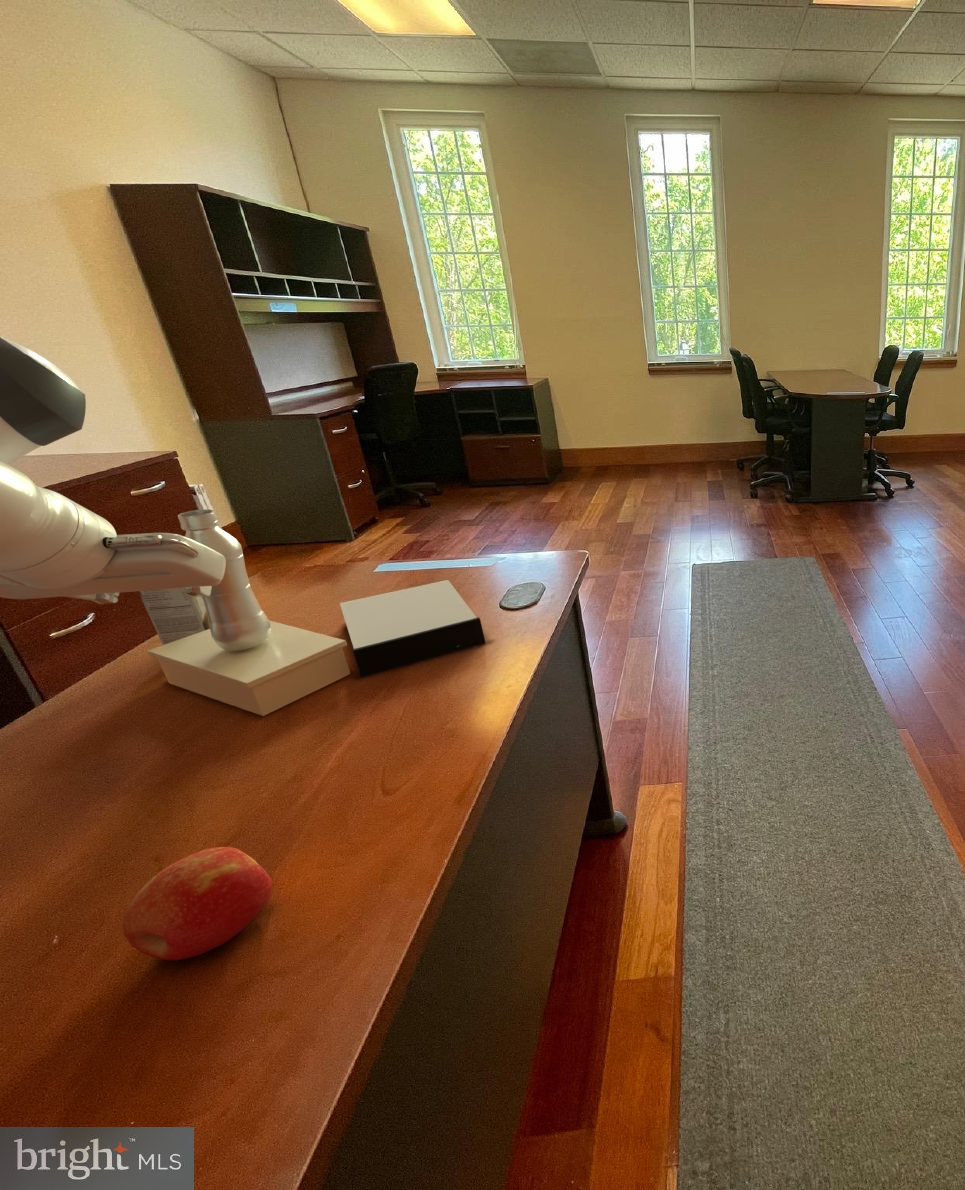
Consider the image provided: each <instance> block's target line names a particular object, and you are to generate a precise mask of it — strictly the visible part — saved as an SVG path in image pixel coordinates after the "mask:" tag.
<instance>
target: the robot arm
mask: <svg viewBox="0 0 965 1190" xmlns="http://www.w3.org/2000/svg"><path fill="white" fill-rule="evenodd" d="M86 401H87V400H86V394H85V393H84V392H83V391H82V390H81V389H80V387H79V385H77V383H76V382H75V381H74V380H73V378H71V377H70V376H69V375H68V374H67V373H66V372H65V371H63V370H62V369H61V368H60V367H58V365H55V364H54V363H53V362H51V361H50V360H48V359H47V358H45V357H44V356H43V355H40V354H39V353H36V352H35V351H34V350H31V349H29V348H27V347H26V346H23V345H21V344H19V343H17V342H15V341H14V340H13V341H12V339H11V340H10V339H8V338H6V337H3V336H1V335H0V598H3V599H12V600H34V599H47V598H49V599H50V598H62V597H64V598H69V599H70V598H71V599H77V600H78V599H79V600H85V601H91V602H94V603H96V604H98V605H107V604H116V603H118V601H119V598H118V597H119V596H120V593H131V592H138V591H148V590H162V589H176V588H186V593H187V594H189V595H192V596H193V597H202V596H204V597H205V596H210V594H211V589H212V586H216V585H218V584H220V582H221V581H222V579H223V576H224V572H225V567H226V559H225V557H224V556H223V555H222V554H220V553H218V552H217V551H215V550H213V549H211V548H209V547H207V546H205V545H203V544H201V543H198V542H196V541H194V540H192V539H189V538H187V537H184V536H185V535H181V534H177V533H171V532H150V533H149V532H147V533H131V534H129V533H128V534H127V533H126V534H117V532H116V529H115V528H114V526H113V524H112V523H110V522H109V521H108V520H107V519H106V518H104V517H102V516H101V515H99V514H97V513H95V512H93V511H92V510H89V509H88V508H86V507H84V506H82V505H81V504H79V503H77V502H75V501H74V500H72V499H70V498H68V497H66V496H64V495H63V494H61V493H59V492H57V491H54V490H51V489H48V488H44V487H40V486H38V485H36V483H34V481H33V480H32V479H30V477H28V476H27V475H26V474H25V473H23V472H21V471H20V470H18V469H17V468H15V467H13V466H11V465H10V464H11V463H13V462H15V461H17V460H18V459H21V458H22V457H24V456H26V455H27V454H30V453H31V452H33V451H34V450H37V449H38V448H40V447H45V446H48V445H50V444H53V443H54V442H57V441H59V440H61V439H63V438H66V437H68V436H71V435H72V434H74V433H77V432H79V431H81V430H83V426H84V423H85V418H86V409H87V402H86Z"/></svg>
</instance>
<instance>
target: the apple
mask: <svg viewBox="0 0 965 1190" xmlns="http://www.w3.org/2000/svg"><path fill="white" fill-rule="evenodd" d="M272 881H273V880H272V879H271V876H270V875H269V873H268V872H267V871H266V870H265V869H264V868H263V867H262V866H261V865H260V864H259V863H258V862H257V861H256V860H255V859H254V858H252V856H250V855H248V854H246V853H245V852H244V851H242V850H241V849H238V848H237V847H231V846H218V847H211V848H210V847H209V848H205V849H203V850H200V851H198V852H195V853H193V854H190V855H187V856H186V857H183V858H181V859H179V860H177V861H175V862H174V863H172V864H170V865H168V866H166V867H165V868H164V869H162V870H161V871H160V872H158V873H156V875H155V876H153V877H152V878H151V879H150V880H148V882H147V883H146V884H145V885H144V886H143V887H142V888H141V889H140V890H139V891H138V892H137V893H136V894H135V896H134V897H133V899H132V901H130V903H129V905H128V907H127V910H126V911H125V914H124V917H123V920H122V932H123V935H124V937H125V938H126V940H127V942H128V943H129V945H130V946H132V947H133V948H134V949H136V950H137V951H138V952H140V953H141V954H143V955H146V956H148V957H151V958H155V959H158V960H163V961H180V960H186V959H191V958H194V957H197V956H200V955H202V954H205V953H207V952H209V951H211V950H213V949H215V948H217V947H221V946H222V945H224V944H225V943H227V942H229V941H230V940H231V939H232V938H234V937H236V936H237V935H239V933H241V932H242V931H244V930H246V929H247V928H248V927H249V926H250V925H251V924H252V923H253V922H254V921H255V920H256V918H258V916H260V914H261V912H262V911H263V910H264V909H265V907H266V906H267V904H268V902H269V901H270V898H271V896H272V892H273V882H272Z"/></svg>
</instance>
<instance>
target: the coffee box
mask: <svg viewBox="0 0 965 1190" xmlns="http://www.w3.org/2000/svg"><path fill="white" fill-rule="evenodd" d="M137 593H138V595H139V597H140V600H141V602H142V603H143V605H144V608H145V609H146V612H147V615H148V616H149V618H150V620H151V623H152V625H153V628H154V630H155V631H156V633H157V635H158V638H159V640H160V642H161V645H165V644H168V643H171V642H174V641H176V640H179V639H182V638H185V637H188V636H191V635H194V634H196V633H199V632H202V631H205V630H208V629H210V623H209V622H210V621H209V618H208V614H207V610H206V607H205V603H204V600H203V598H202V597H193V596H192V595H189V594H187V593H186V588H176V589H162V590H148V591H137Z"/></svg>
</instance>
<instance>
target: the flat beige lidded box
mask: <svg viewBox="0 0 965 1190" xmlns="http://www.w3.org/2000/svg"><path fill="white" fill-rule="evenodd" d="M268 620H269V619H268ZM269 622H270V625H271V634H270V637H269V639H268V640H267V641H265V642H264V643H262V644H260V645H258V646H255V647H252V648H248V649H244V650H238V651H226V650H224V649H222V648H220V647H218V646H217V644H216V643H215V641H214V640H213V638H212V636H211V631H210V629H208V630H205V631H202V632H199V633H196V634H194V635H191V636H188V637H185V638H182V639H179V640H176V641H174V642H171V643H168V644H165V645H163V644H161V645H159V646H157V647H153V648H150V649H148V650H147V655H148V656H149V657H153V658H155V659H157V662H158V663H159V666H160V668H161V670H162V671H163V674H164V676H165V678H166V680H167V682H168V684H170V685H173V686H176V687H178V688H181V689H185V690H188V691H190V692H193V693H195V694H199V695H202V696H205V697H207V698H210V699H213V700H216V701H219V702H222V703H224V704H228V705H230V706H234V707H235V708H238V709H242V710H244V711H247V712H250V713H253V714H256V715H258V716H262V717H264V716H266V715H269V714H270V713H273V712H275V711H277V710H279V709H280V708H283V707H285V706H287V705H289V704H292V703H293V702H295V701H298V700H300V699H302V698H304V697H306V696H308V695H310V694H312V693H314V692H317V691H319V690H321V689H322V688H324V687H326V686H329V685H331V684H333V683H335V682H336V681H339V680H341V679H343V678H345V677H347V676H349V675H351V671H350V668H349V665H348V662H347V658H346V655H345V652H344V650H343V648H344V647H346V646H347V645H348V644H347V641H346V639H342V638H338V637H333V636H330V635H326V634H322V633H318V632H315V631H311V630H308V629H303V628H300V627H297V626H292V625H288V624H284V623H281V622H277V621H274V620H269Z"/></svg>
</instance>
